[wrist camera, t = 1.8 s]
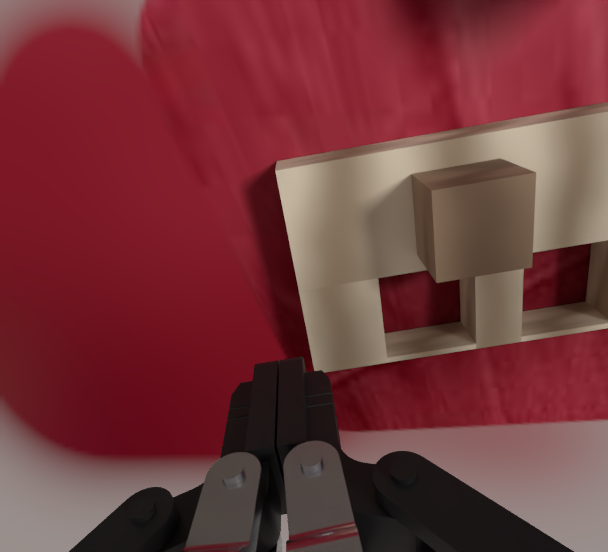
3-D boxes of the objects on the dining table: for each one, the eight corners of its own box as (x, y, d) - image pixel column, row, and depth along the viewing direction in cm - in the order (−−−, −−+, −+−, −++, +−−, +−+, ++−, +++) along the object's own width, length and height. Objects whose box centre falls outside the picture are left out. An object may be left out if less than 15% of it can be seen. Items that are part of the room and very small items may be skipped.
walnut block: (500, 158, 25) (536, 172, 21) (499, 241, 27) (532, 267, 23) (411, 174, 25) (431, 190, 22) (417, 255, 27) (436, 283, 24)
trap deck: (778, 71, 26) (892, 70, 21) (726, 283, 32) (807, 322, 27) (276, 161, 28) (273, 180, 23) (313, 349, 33) (316, 398, 28)
